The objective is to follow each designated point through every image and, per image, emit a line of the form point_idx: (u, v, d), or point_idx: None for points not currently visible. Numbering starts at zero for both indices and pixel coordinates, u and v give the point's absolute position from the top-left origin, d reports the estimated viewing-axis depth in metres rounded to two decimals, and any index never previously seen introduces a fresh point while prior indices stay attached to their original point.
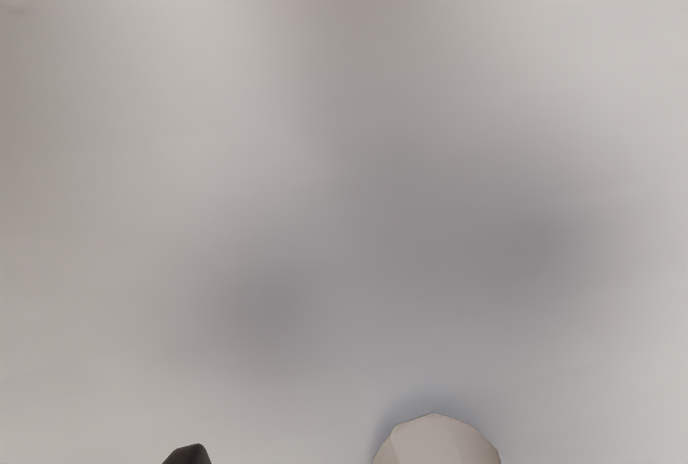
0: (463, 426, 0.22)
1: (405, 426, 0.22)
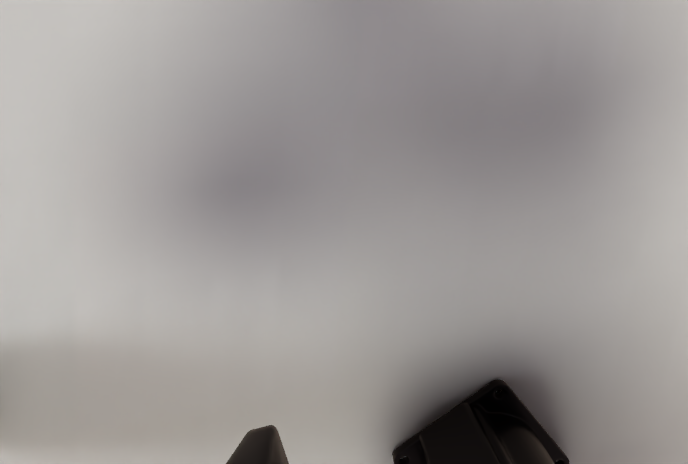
0: None
1: None
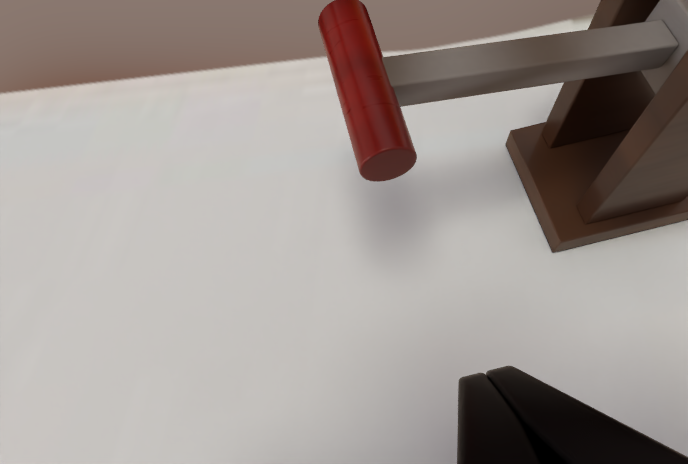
0: None
1: None
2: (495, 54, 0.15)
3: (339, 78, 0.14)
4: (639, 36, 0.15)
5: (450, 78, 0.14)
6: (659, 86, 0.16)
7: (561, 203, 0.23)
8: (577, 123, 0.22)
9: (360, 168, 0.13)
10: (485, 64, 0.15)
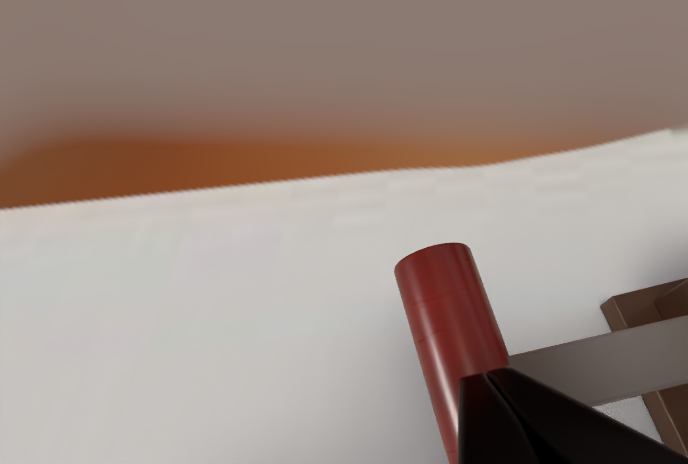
0: None
1: None
2: None
3: (442, 399, 0.09)
4: None
5: (624, 397, 0.09)
6: None
7: None
8: None
9: None
10: (676, 365, 0.09)
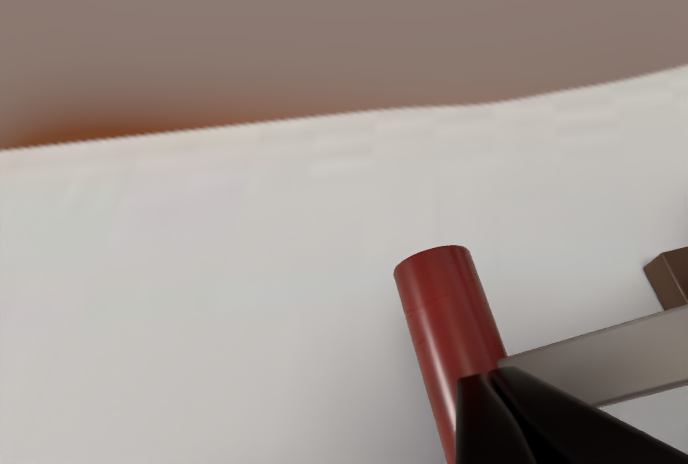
0: None
1: None
2: None
3: (433, 406, 0.09)
4: None
5: (632, 396, 0.08)
6: None
7: None
8: None
9: None
10: None
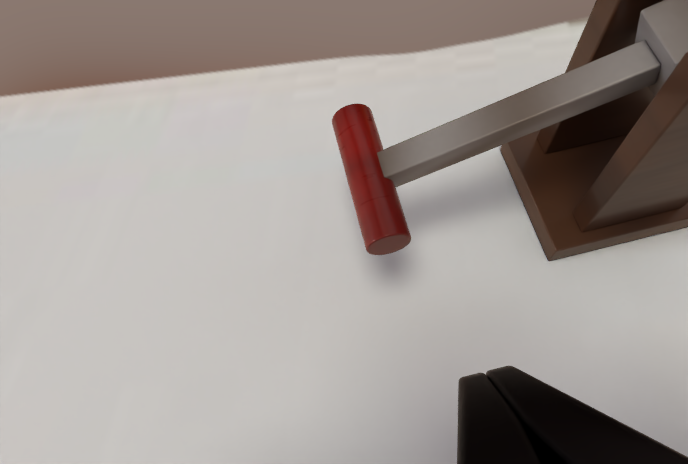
0: None
1: None
2: (471, 125, 0.17)
3: (347, 177, 0.18)
4: (616, 67, 0.16)
5: (432, 158, 0.17)
6: None
7: (556, 210, 0.22)
8: (573, 128, 0.22)
9: (367, 251, 0.17)
10: (462, 137, 0.17)
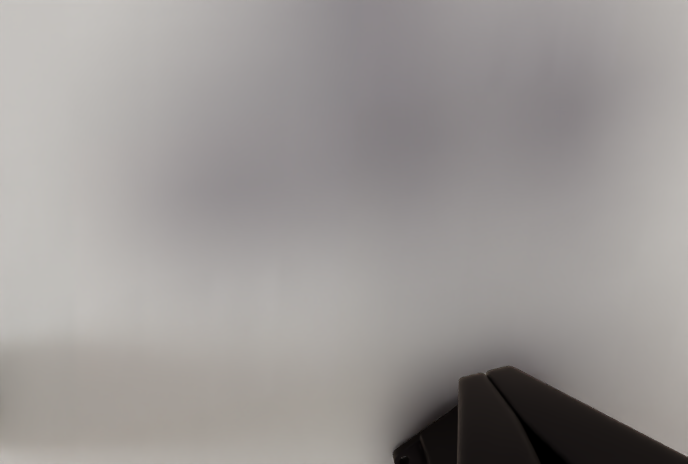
0: None
1: None
2: None
3: None
4: None
5: None
6: None
7: None
8: None
9: None
10: None
